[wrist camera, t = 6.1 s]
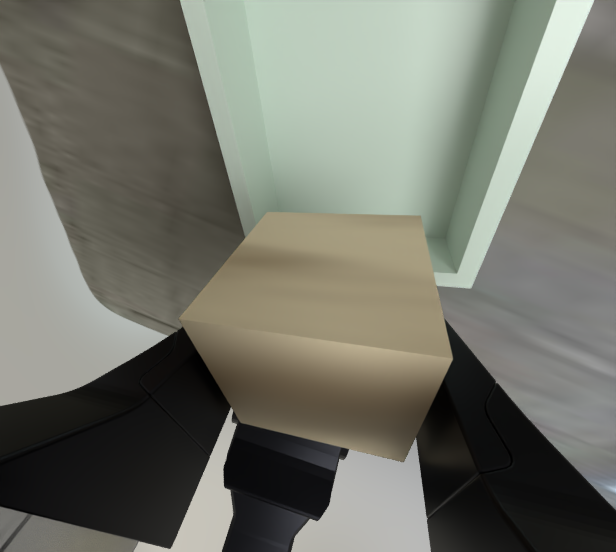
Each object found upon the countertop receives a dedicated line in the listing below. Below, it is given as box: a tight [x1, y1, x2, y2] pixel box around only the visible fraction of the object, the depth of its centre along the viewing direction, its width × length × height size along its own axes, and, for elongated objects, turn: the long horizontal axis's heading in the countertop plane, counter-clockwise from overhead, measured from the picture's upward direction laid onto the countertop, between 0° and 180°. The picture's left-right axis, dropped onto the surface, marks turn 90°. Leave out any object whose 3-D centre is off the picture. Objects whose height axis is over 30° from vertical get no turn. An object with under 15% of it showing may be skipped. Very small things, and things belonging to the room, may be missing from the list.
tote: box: [180, 0, 594, 288], centre depth 13 cm, size 18×14×5 cm
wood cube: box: [179, 212, 453, 462], centre depth 8 cm, size 5×5×5 cm
